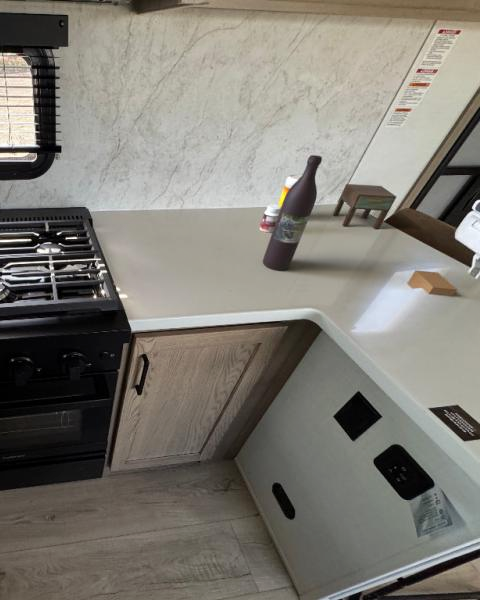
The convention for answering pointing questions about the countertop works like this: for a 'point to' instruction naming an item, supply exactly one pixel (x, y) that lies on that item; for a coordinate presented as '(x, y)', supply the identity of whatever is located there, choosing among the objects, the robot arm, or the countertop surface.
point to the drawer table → (365, 202)
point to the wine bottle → (293, 218)
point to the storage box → (431, 283)
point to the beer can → (288, 186)
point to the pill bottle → (270, 218)
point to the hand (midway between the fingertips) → (475, 276)
